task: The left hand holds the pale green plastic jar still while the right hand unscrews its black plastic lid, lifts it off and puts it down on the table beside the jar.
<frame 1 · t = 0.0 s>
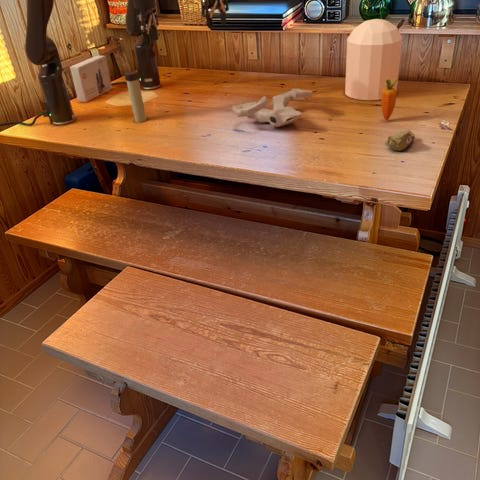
left hand: (151, 42, 170), 29 cm above the table, tool pointing down, fingers open, 8 cm apart
right hand: (217, 25, 186), 29 cm above the table, tool pointing down, fingers open, 8 cm apart
skincare box: (96, 95, 222), on the table
container: (370, 92, 193), on the table
carrot: (386, 121, 166), on the table
rock: (401, 146, 148), on the table
jar: (140, 120, 188), on the table
beige irregular branched piece: (279, 124, 171), on the table
lid: (131, 73, 178), point 19 cm above the table, screwed on, not yet turned
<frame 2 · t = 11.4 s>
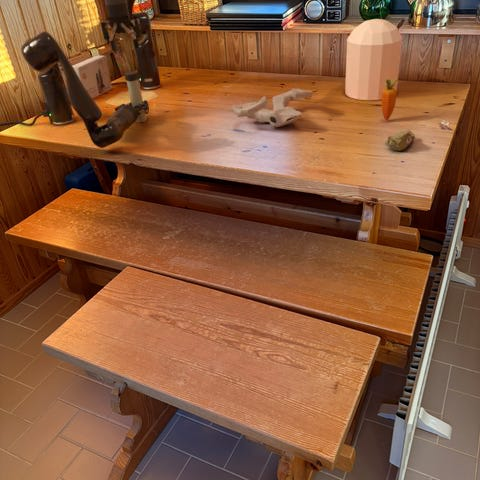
left hand: (139, 102, 187), 6 cm above the table, tool horizontal, fingers closed on jar, 4 cm apart
right hand: (126, 50, 173), 27 cm above the table, tool pointing down, fingers open, 7 cm apart
jar: (140, 120, 188), on the table, touching left hand
everything else where it was.
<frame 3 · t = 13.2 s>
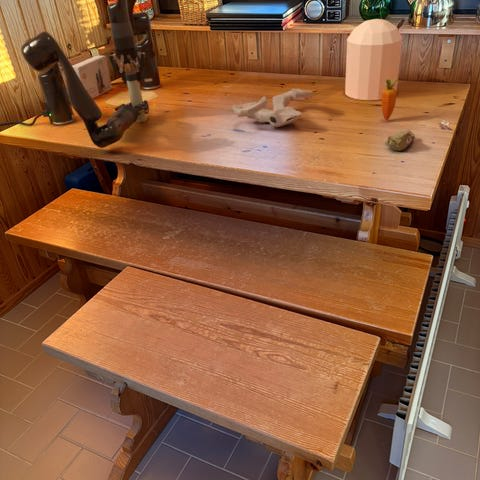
left hand: (139, 102, 187), 6 cm above the table, tool horizontal, fingers closed on jar, 4 cm apart
right hand: (132, 81, 179), 16 cm above the table, tool pointing down, fingers closed on lid, 5 cm apart
jar: (140, 120, 188), on the table, touching left hand
lid: (131, 73, 178), point 19 cm above the table, screwed on, not yet turned, touching right hand
everything else where it was.
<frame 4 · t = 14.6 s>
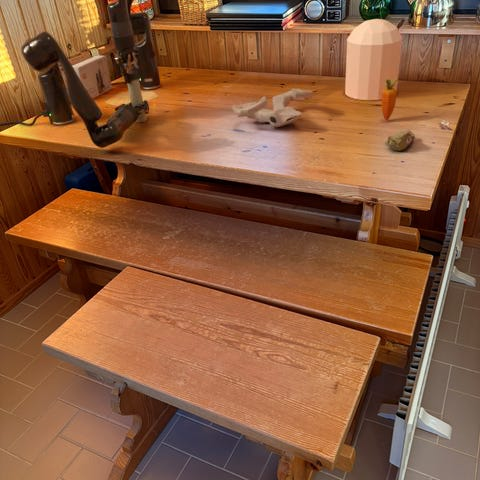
left hand: (139, 102, 187), 6 cm above the table, tool horizontal, fingers closed on jar, 4 cm apart
right hand: (132, 80, 179), 16 cm above the table, tool pointing down, fingers closed on lid, 5 cm apart
jar: (140, 120, 188), on the table, touching left hand
lid: (131, 73, 178), point 19 cm above the table, turned 71° so far, risen 0.2 cm, still on its thread, touching right hand
everything else where it was.
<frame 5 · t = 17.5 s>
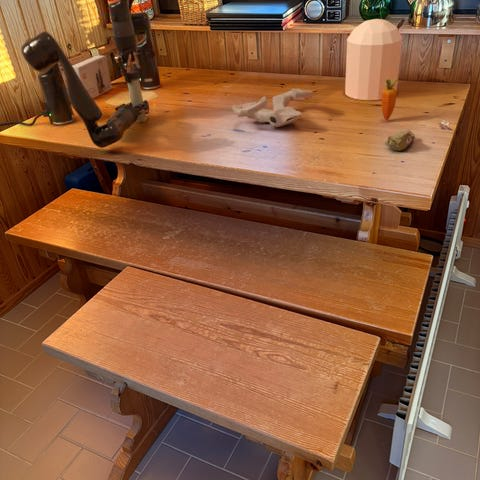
left hand: (140, 102, 187), 6 cm above the table, tool horizontal, fingers closed on jar, 4 cm apart
right hand: (133, 80, 179), 16 cm above the table, tool pointing down, fingers closed on lid, 5 cm apart
jar: (140, 120, 188), on the table, touching right hand, left hand, lid
lid: (131, 72, 178), point 19 cm above the table, off its thread, touching right hand, jar
everything else where it was.
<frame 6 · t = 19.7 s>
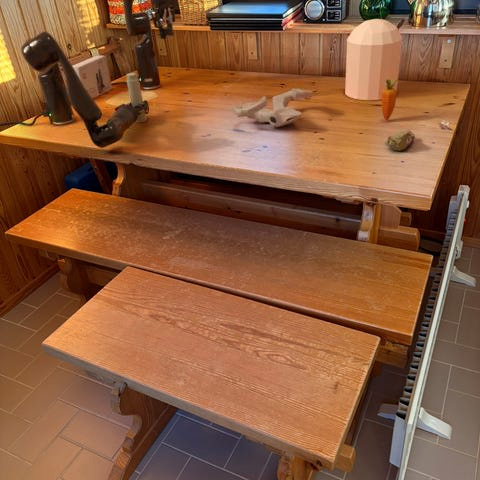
left hand: (139, 102, 187), 6 cm above the table, tool horizontal, fingers closed on jar, 4 cm apart
right hand: (167, 36, 183), 28 cm above the table, tool pointing down, fingers closed on lid, 5 cm apart
jar: (140, 120, 188), on the table, touching left hand
lid: (166, 29, 181), point 31 cm above the table, off its thread, touching right hand
everything else where it was.
when the right hand's fingers open (1 cm above the table, at t = 22.7 s): lid drops 2 cm, point 2 cm above the table.
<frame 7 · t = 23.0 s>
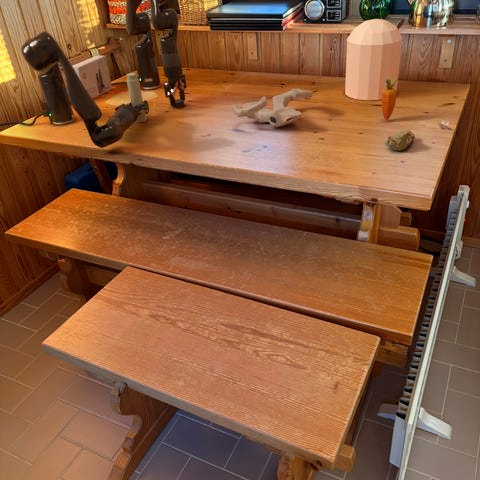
left hand: (139, 102, 187), 6 cm above the table, tool horizontal, fingers closed on jar, 4 cm apart
right hand: (178, 103, 198), 1 cm above the table, tool pointing down, fingers open, 7 cm apart
jar: (140, 120, 188), on the table, touching left hand
lid: (178, 101, 198), point 2 cm above the table, off its thread
everything else where it was.
when the left hand's fingers open (6 cm above the table, at t = 23.7 s): jar stays where it is, on the table.
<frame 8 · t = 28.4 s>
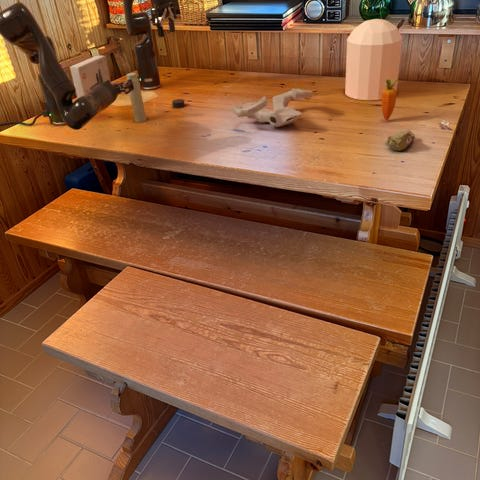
left hand: (120, 82, 169), 19 cm above the table, tool horizontal, fingers open, 8 cm apart
right hand: (167, 34, 182), 29 cm above the table, tool pointing down, fingers open, 8 cm apart
jar: (140, 120, 188), on the table
everything else where it was.
at the end: lid came off its thread; lid point 1.9 cm above the table; the left hand is holding nothing; the right hand is holding nothing; jar tilted 0°; jar moved 0.0 cm from its start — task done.
